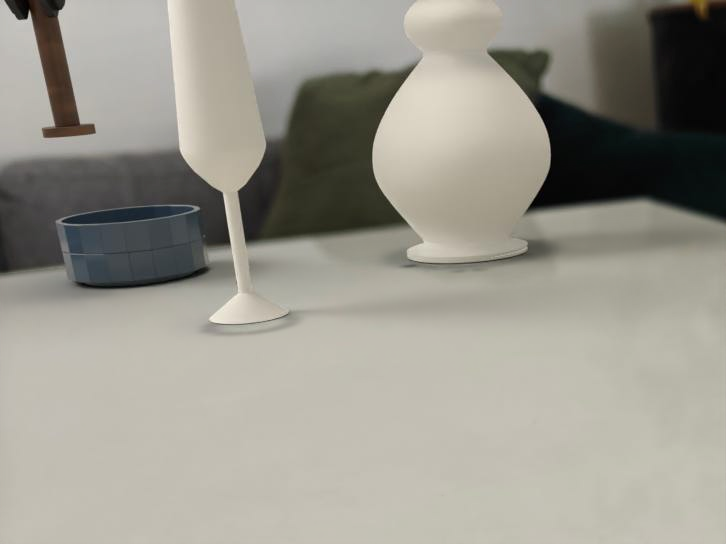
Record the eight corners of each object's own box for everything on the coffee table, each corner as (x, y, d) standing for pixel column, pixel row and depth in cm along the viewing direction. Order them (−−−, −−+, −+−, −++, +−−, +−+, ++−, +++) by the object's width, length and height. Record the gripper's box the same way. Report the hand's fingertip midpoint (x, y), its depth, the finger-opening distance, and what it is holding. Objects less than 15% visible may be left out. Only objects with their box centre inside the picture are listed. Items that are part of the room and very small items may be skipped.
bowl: (51, 293, 110) (36, 228, 108) (90, 268, 123) (78, 210, 120) (195, 283, 110) (184, 218, 108) (220, 259, 123) (210, 201, 120)
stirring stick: (36, 139, 100) (-5, -45, 94) (52, 135, 104) (13, -41, 98) (88, 135, 100) (50, -49, 94) (101, 132, 104) (66, -45, 98)
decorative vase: (585, 251, 113) (581, -39, 101) (423, 275, 106) (398, -32, 95) (504, 233, 127) (492, -23, 116) (357, 253, 121) (328, -16, 109)
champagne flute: (198, 325, 92) (139, -14, 81) (221, 308, 98) (168, -10, 87) (279, 322, 91) (230, -20, 80) (296, 304, 97) (253, -16, 86)
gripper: (-33, -177, 98) (-70, -21, 93) (117, -193, 96) (88, -34, 91) (12, -98, 105) (-19, 51, 100) (153, -112, 103) (128, 40, 98)
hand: (32, 10), depth 96 cm, fingers closed on stirring stick
